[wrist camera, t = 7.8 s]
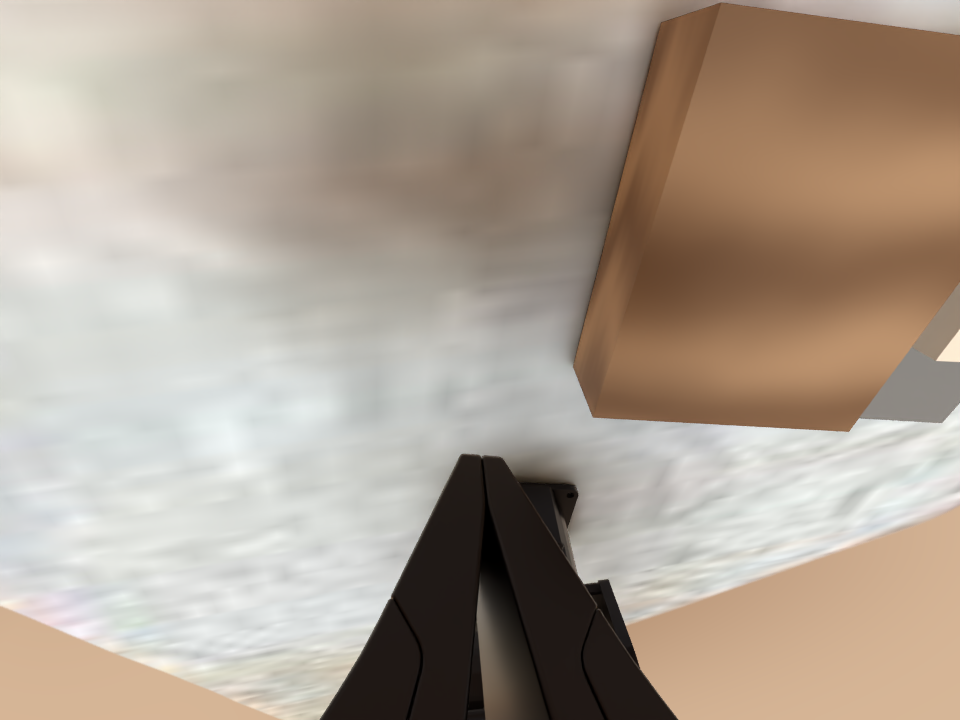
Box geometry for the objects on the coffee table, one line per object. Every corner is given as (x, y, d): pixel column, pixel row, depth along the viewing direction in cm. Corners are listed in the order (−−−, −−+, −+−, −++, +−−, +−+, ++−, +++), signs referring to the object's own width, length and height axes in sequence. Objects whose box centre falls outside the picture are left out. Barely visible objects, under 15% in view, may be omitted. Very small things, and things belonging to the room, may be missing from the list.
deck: (791, 381, 23) (848, 431, 19) (573, 366, 22) (592, 417, 19) (980, 64, 15) (1126, 58, 12) (661, 22, 14) (721, 2, 11)
